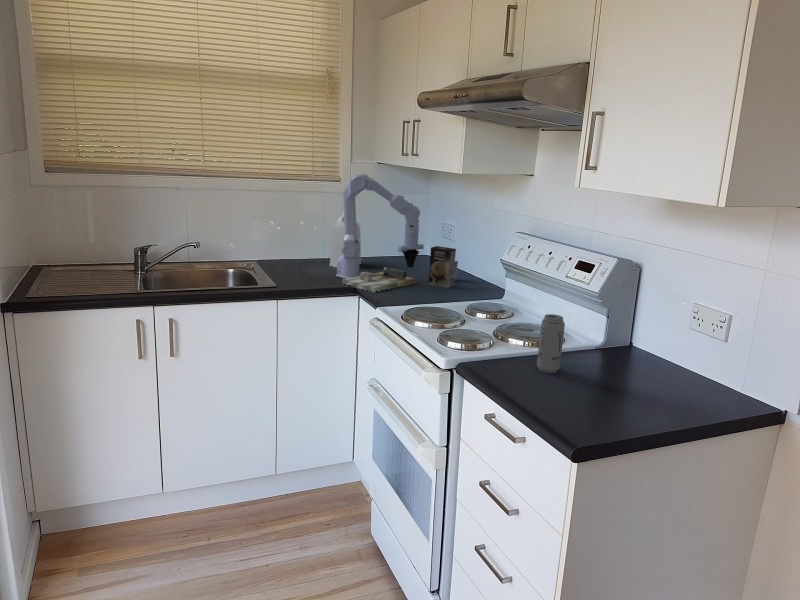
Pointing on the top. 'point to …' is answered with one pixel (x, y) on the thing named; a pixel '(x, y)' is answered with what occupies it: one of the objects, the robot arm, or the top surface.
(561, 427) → the top surface
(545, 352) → the energy drink can
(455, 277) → the medicine box
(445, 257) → the coffee box
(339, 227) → the milk
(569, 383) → the top surface
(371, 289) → the door and jamb
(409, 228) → the robot arm
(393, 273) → the lock bar
